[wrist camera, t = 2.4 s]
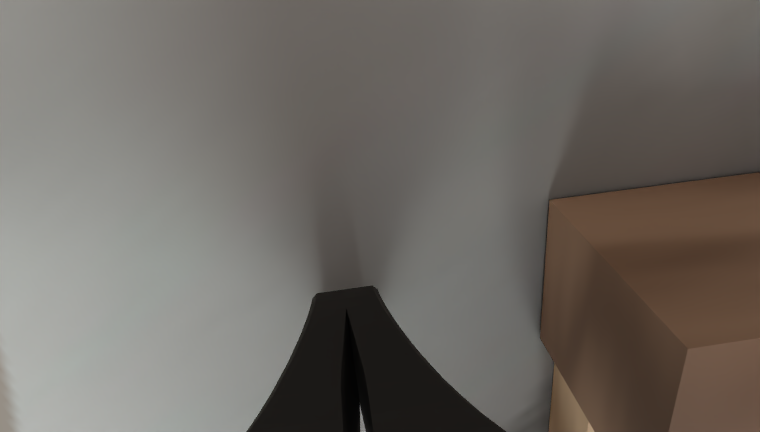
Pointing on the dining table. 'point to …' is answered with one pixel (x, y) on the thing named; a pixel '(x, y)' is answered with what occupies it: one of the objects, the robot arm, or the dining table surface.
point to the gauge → (658, 305)
